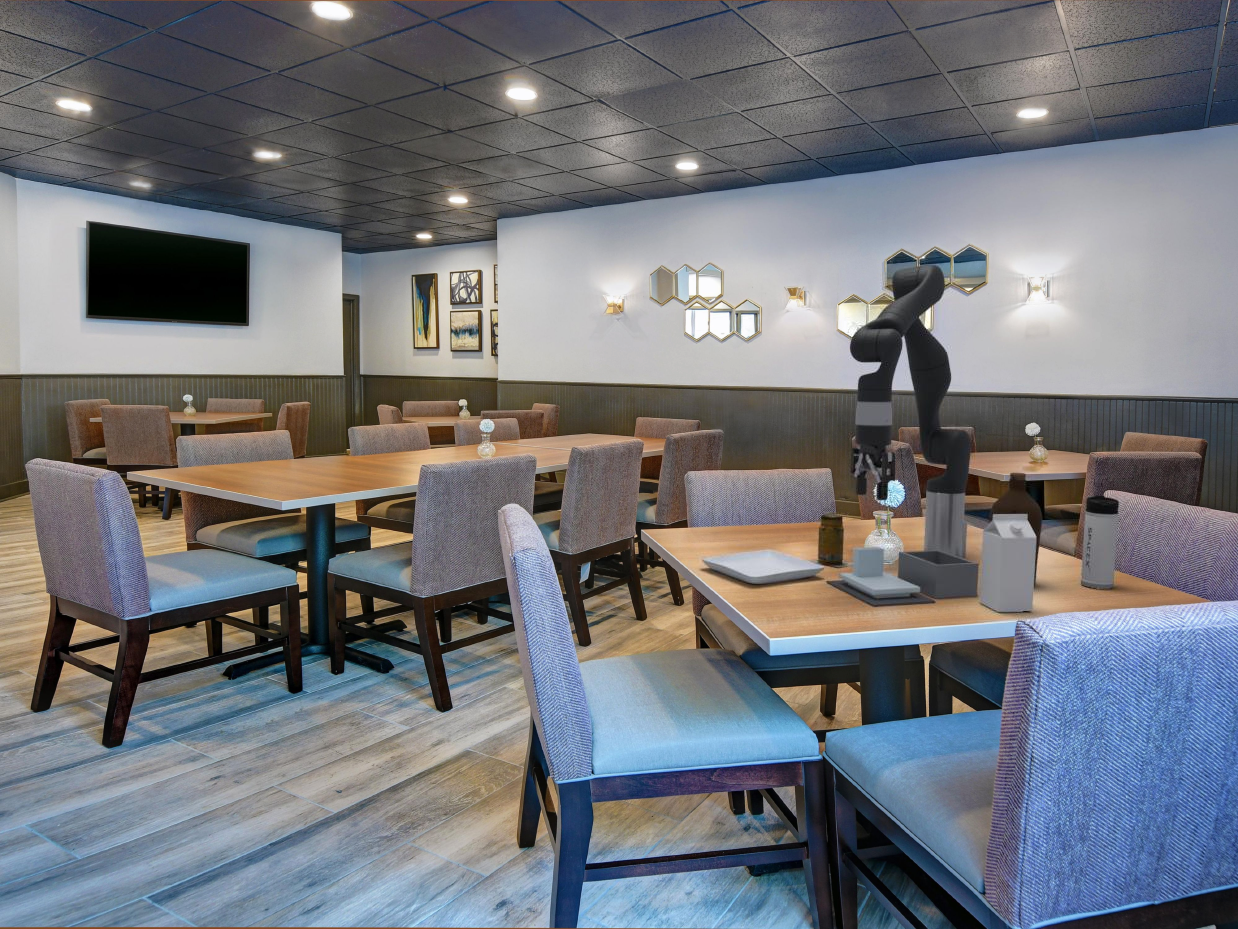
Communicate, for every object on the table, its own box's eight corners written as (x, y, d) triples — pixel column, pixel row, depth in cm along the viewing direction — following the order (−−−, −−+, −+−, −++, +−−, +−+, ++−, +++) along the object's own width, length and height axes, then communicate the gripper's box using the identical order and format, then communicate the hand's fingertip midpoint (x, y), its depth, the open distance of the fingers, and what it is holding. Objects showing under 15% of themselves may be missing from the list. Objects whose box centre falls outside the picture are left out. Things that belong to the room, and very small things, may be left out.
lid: (839, 583, 180) (840, 546, 180) (882, 580, 183) (883, 545, 182) (873, 600, 166) (875, 561, 165) (919, 597, 169) (921, 558, 168)
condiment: (827, 558, 208) (829, 512, 207) (855, 564, 201) (857, 516, 200) (809, 562, 203) (811, 515, 202) (838, 568, 197) (839, 519, 196)
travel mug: (1108, 583, 183) (1115, 496, 181) (1116, 590, 177) (1122, 500, 175) (1077, 581, 185) (1083, 494, 183) (1083, 588, 179) (1089, 498, 177)
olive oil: (1047, 589, 178) (1054, 476, 175) (999, 589, 178) (1005, 475, 175) (1023, 578, 188) (1030, 470, 186) (978, 577, 188) (983, 470, 186)
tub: (897, 582, 183) (899, 551, 182) (936, 580, 185) (938, 550, 185) (935, 598, 170) (936, 565, 169) (977, 595, 172) (978, 563, 171)
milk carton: (978, 603, 166) (983, 511, 164) (1012, 602, 167) (1017, 511, 165) (997, 613, 159) (1003, 517, 157) (1032, 612, 160) (1038, 517, 158)
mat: (882, 579, 186) (882, 577, 186) (935, 602, 166) (935, 600, 166) (826, 582, 182) (826, 580, 182) (873, 606, 163) (873, 604, 163)
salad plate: (752, 590, 176) (752, 575, 176) (698, 570, 195) (699, 556, 195) (827, 580, 186) (827, 565, 186) (769, 562, 205) (769, 548, 205)
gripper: (908, 424, 169) (905, 501, 171) (871, 421, 183) (869, 492, 184) (875, 424, 167) (873, 502, 169) (841, 421, 181) (839, 493, 183)
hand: (871, 497), depth 177 cm, fingers open, 8 cm apart
